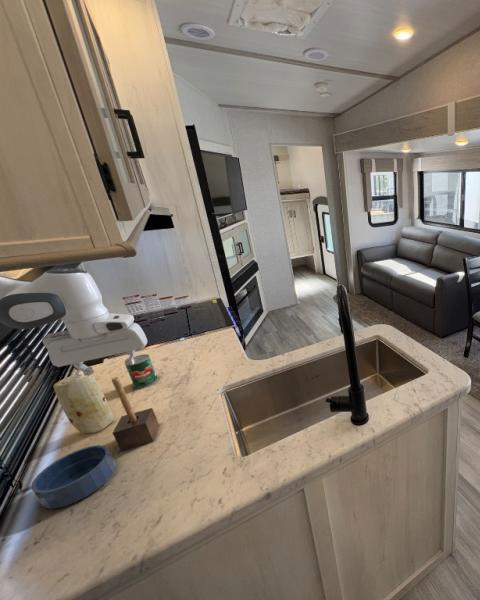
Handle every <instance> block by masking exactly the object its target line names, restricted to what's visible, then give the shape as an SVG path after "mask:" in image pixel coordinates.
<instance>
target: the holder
mask: <svg viewBox="0 0 480 600" xmlns="http://www.w3.org/2000/svg"><path fill="white" fill-rule="evenodd" d="M134 414H135V416H136V418H137V421H135V422H130V420H129V418H128V416H127V414H126V415H121V416H120V418H119V420H118V422H117V424H116V425H115V427H114V430H112V436H113V437H114V439H115V441H116V444H117V446H118V447H119V449H120V452H123V451H126V450H129V449H132V448H136V447H139V446H141V445H146V444H148V443H151V442H154V440H155V437H156V435H157V432H158V430H159V427H160V423H159V421H158V419H157V416H156V413H155V411H154V409H153V407H150V408H147V409H143V410H140V411H137V412H134Z"/></svg>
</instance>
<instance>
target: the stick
mask: <svg viewBox="0 0 480 600" xmlns="http://www.w3.org/2000/svg"><path fill="white" fill-rule="evenodd" d="M111 382H112V384H113V387H114V389H115V392H116V394H117V396H118V398H119V400H120V402H121V404H122V407H123V409H124V411H125V413H126V415H127V416H128V418H129V420H130V422H135V421H137V418H136V416H135V414H134V413H135V412H134V409H133V407H132V405H131V402H130V399H129V398H128V396H127V393H126V391H125V388H124V387H123V384H122V382H121V380H120V378H119V377H118V376H117V377H116V376H115V377H113V378H111Z"/></svg>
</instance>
